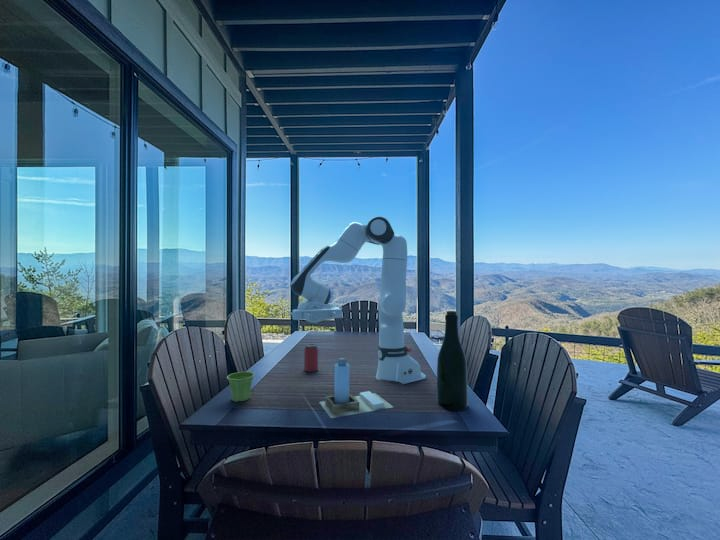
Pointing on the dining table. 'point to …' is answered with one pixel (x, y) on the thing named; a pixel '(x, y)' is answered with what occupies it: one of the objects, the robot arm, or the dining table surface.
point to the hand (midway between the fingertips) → (322, 315)
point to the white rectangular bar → (372, 400)
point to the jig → (349, 406)
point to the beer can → (311, 358)
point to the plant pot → (240, 385)
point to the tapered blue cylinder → (341, 382)
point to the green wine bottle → (452, 368)
